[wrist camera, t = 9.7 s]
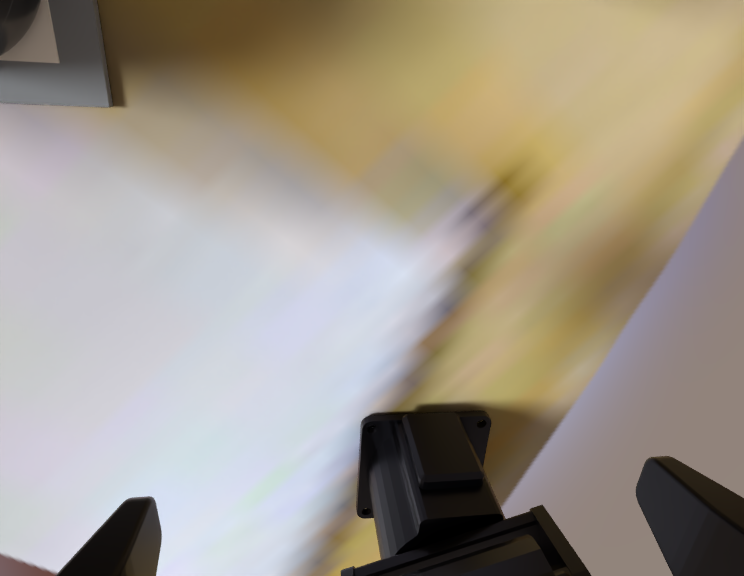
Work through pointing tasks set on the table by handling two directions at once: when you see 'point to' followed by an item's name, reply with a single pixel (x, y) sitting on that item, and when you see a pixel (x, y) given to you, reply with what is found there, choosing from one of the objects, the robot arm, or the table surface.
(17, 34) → the supplement bottle
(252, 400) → the table surface
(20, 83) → the grey mat
